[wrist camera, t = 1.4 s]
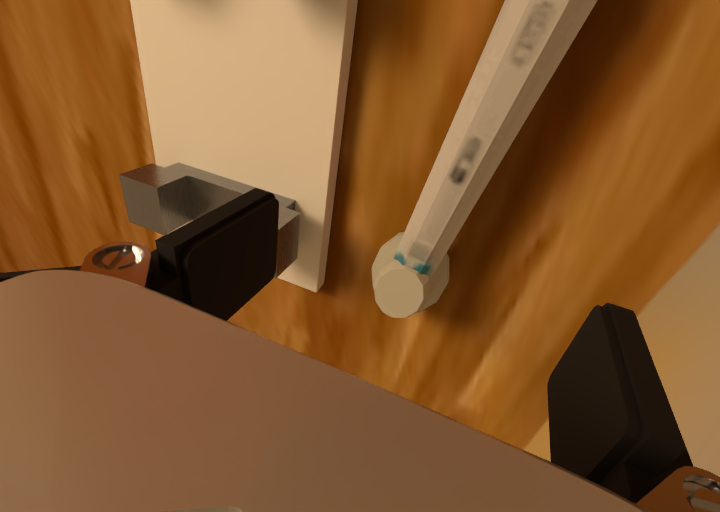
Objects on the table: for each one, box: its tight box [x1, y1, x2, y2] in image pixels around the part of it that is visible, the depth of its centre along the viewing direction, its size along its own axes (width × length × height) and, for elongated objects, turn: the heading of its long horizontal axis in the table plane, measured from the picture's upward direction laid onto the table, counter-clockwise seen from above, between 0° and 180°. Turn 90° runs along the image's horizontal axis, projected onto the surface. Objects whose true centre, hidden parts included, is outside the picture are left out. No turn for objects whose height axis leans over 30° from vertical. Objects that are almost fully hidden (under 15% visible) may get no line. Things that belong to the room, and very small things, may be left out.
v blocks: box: [119, 162, 300, 278], centre depth 24 cm, size 22×14×4 cm, turn 171°
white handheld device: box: [372, 0, 597, 318], centre depth 22 cm, size 5×7×25 cm
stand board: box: [130, 0, 358, 292], centre depth 27 cm, size 30×16×2 cm, turn 171°
